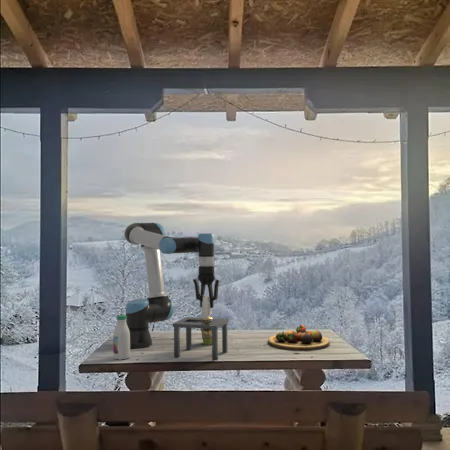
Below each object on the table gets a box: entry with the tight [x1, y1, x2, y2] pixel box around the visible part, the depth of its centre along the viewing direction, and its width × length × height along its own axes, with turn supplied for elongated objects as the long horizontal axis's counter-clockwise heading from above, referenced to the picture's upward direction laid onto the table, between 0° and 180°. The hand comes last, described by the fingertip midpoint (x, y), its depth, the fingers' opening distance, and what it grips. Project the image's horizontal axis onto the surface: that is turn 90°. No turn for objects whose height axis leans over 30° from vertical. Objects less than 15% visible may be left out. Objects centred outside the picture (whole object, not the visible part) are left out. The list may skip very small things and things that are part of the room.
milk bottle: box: [112, 314, 131, 361], centre depth 232 cm, size 8×8×20 cm
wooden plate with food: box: [267, 324, 330, 351], centre depth 258 cm, size 32×32×8 cm
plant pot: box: [199, 328, 212, 346], centre depth 259 cm, size 9×9×9 cm
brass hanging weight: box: [200, 295, 214, 339], centre depth 236 cm, size 6×6×20 cm
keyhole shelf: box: [172, 316, 230, 361], centre depth 237 cm, size 22×18×16 cm
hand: (206, 314), depth 236 cm, fingers closed on brass hanging weight, 2 cm apart
